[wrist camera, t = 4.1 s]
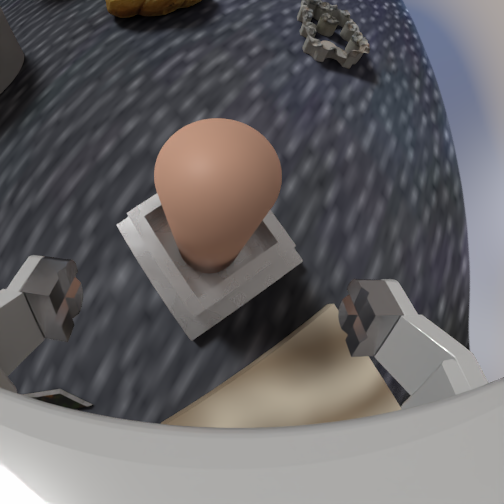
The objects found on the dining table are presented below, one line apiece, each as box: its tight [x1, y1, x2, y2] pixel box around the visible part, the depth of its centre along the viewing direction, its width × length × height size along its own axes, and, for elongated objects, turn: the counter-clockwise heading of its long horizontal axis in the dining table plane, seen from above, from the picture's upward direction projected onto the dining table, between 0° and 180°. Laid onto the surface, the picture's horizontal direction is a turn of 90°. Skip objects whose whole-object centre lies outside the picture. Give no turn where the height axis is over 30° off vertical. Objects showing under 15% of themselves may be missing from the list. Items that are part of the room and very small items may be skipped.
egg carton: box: [297, 0, 370, 68], centre depth 28 cm, size 11×8×4 cm
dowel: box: [154, 118, 282, 273], centre depth 16 cm, size 4×4×12 cm
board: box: [161, 304, 401, 428], centre depth 21 cm, size 16×16×1 cm
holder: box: [117, 193, 303, 341], centre depth 20 cm, size 10×10×5 cm
